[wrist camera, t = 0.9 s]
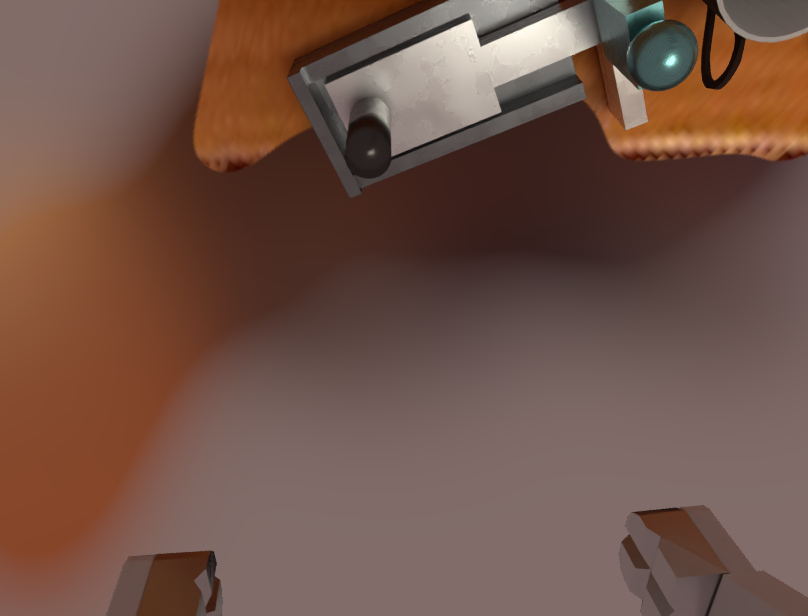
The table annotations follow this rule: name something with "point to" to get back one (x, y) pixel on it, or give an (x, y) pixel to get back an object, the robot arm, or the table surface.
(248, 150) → the table surface
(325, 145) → the rail
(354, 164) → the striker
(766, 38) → the coffee mug
